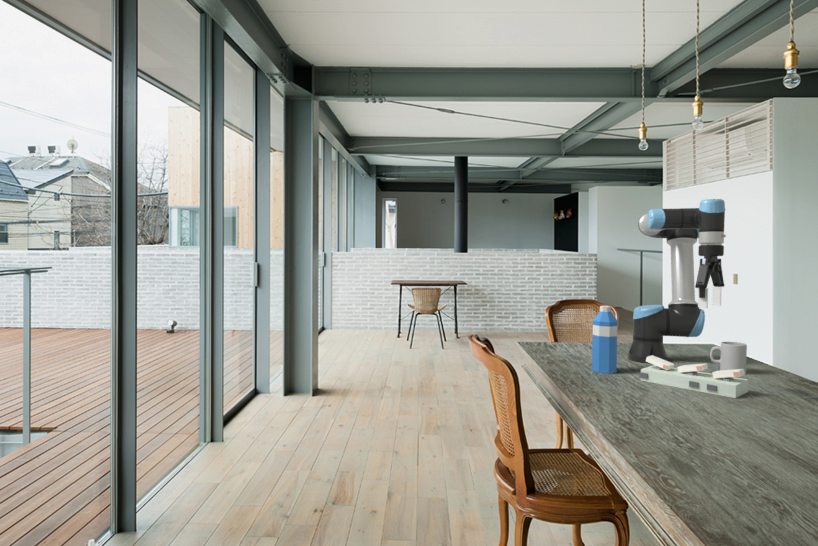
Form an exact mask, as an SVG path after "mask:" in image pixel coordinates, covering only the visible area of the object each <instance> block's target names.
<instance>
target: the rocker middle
mask: <svg viewBox="0 0 818 546" xmlns="http://www.w3.org/2000/svg"><path fill="white" fill-rule="evenodd" d="M676 368H678V372H689V371H698V372H704V371H706V370H708V369H709V367H708V363H696V364H695V363H694V364H682V365H680V366H677V367H676Z"/></svg>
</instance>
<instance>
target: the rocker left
mask: <svg viewBox="0 0 818 546" xmlns="http://www.w3.org/2000/svg"><path fill="white" fill-rule="evenodd" d="M646 362H648V363H647V364H651V365H652V366H653V365H656V366H658V367H661V368H663V369H665V370H670V369H673V367H674V368H675V363H673V362H671V361H668V360H667V361H666V360H663V359H661V358H658V357H656V356H653V355H651V356H648V357H647V358H646ZM646 362H645V363H646Z"/></svg>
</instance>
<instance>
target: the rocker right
mask: <svg viewBox="0 0 818 546" xmlns="http://www.w3.org/2000/svg"><path fill="white" fill-rule="evenodd" d="M711 374H713V378H724V377H735V378H742V377H743V376H745V375H746V374H745V372H744V369H735V370H720V369H719V370H716V371H712V373H711Z"/></svg>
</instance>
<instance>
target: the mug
mask: <svg viewBox="0 0 818 546" xmlns="http://www.w3.org/2000/svg"><path fill="white" fill-rule="evenodd" d="M747 346H748V345H747V343H745V342H744V343H742V342H739V341H738V342H737V341H722V342H721V343H720V345H716V346H713V347H711V349H710V351H709V358H710V361H711V362H712V363H713V364H716V365H719V371H720V370H735V369H744V372H745V375H746V374H747V354H748V353H747V351H748V348H747ZM715 351H719V352H720V358H719V359H715V358H714V352H715Z"/></svg>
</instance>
